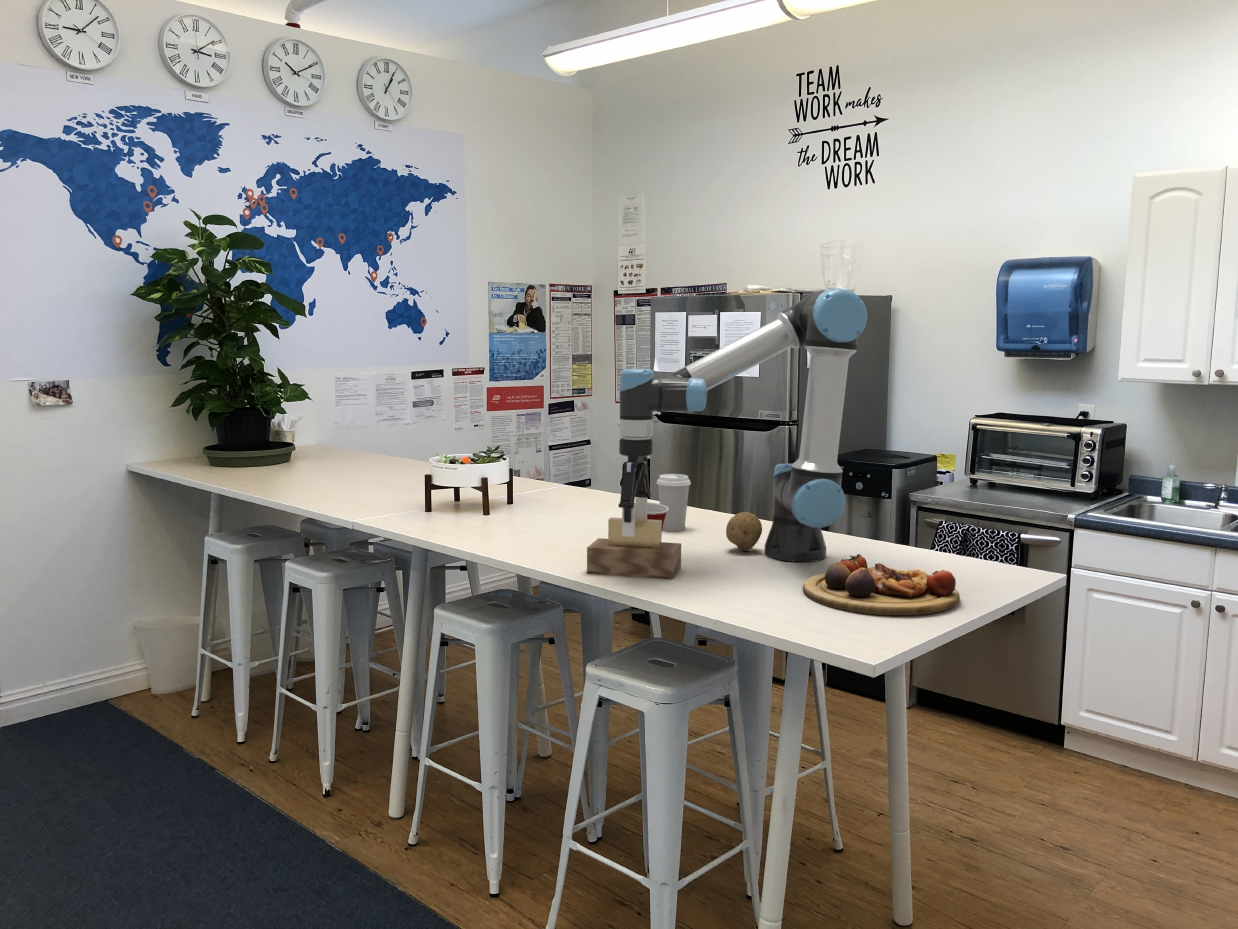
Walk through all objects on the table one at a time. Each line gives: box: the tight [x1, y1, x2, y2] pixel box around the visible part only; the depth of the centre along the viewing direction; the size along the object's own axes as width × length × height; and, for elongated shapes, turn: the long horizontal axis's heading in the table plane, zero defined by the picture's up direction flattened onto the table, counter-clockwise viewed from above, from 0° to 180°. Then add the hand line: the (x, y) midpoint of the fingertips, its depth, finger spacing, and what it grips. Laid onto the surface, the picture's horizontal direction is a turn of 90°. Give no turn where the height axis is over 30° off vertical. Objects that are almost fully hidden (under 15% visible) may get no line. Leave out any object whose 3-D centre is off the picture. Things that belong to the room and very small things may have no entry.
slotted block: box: [586, 537, 682, 580], centre depth 221 cm, size 20×10×6 cm, turn 76°
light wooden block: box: [607, 516, 663, 548], centre depth 221 cm, size 12×2×11 cm, turn 77°
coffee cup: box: [656, 473, 692, 532], centre depth 267 cm, size 10×10×15 cm
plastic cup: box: [634, 501, 669, 529], centre depth 238 cm, size 11×11×12 cm
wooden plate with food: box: [802, 553, 960, 616], centre depth 203 cm, size 32×32×8 cm
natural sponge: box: [725, 511, 763, 552], centre depth 242 cm, size 9×9×10 cm
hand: (634, 530), depth 220 cm, fingers open, 12 cm apart
